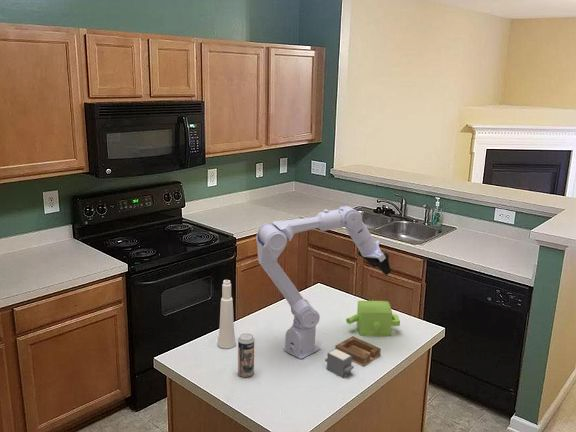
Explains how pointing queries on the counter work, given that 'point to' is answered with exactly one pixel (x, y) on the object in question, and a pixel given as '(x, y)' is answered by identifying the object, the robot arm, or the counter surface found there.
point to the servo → (339, 363)
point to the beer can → (246, 355)
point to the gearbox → (374, 318)
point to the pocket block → (359, 350)
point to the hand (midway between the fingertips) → (382, 269)
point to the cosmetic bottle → (226, 318)
